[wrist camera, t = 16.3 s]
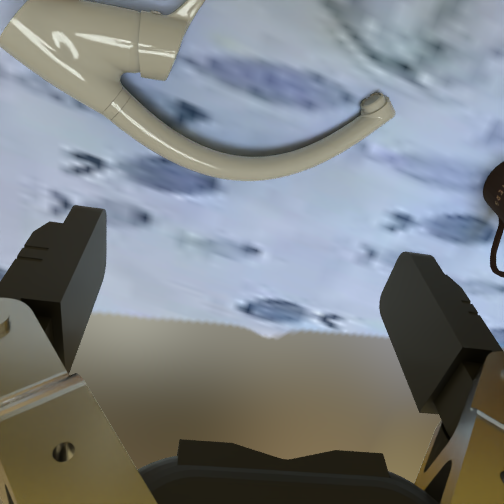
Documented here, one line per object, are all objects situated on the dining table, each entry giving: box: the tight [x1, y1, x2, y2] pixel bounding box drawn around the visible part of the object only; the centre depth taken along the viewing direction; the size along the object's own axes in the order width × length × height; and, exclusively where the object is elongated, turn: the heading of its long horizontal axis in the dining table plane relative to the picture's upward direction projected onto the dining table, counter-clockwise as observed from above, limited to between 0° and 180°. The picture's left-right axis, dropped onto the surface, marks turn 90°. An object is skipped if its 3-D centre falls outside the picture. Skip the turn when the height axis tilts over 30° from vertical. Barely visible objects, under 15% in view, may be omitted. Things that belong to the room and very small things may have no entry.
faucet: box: [0, 0, 396, 181], centre depth 37 cm, size 5×28×28 cm
